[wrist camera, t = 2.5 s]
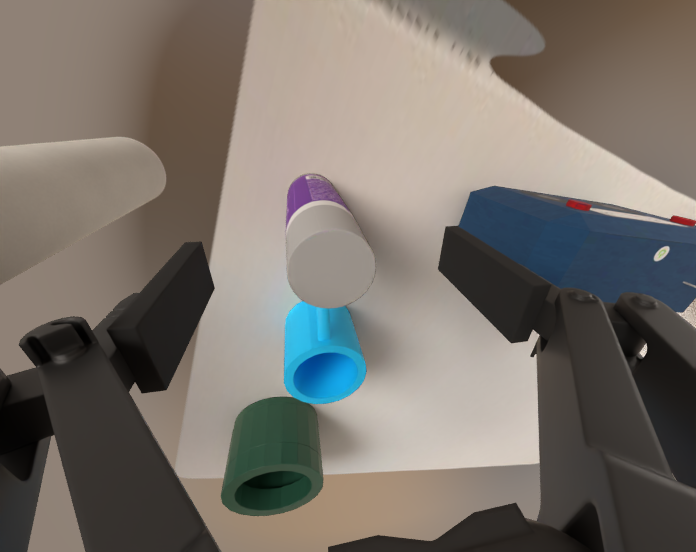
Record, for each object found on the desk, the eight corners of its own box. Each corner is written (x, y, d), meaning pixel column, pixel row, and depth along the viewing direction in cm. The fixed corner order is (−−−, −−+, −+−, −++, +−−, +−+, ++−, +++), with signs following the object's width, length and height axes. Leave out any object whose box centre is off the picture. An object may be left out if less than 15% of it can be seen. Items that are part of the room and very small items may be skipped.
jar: (218, 435, 40) (201, 509, 33) (265, 386, 37) (259, 454, 30) (286, 453, 46) (285, 520, 38) (332, 412, 43) (342, 475, 35)
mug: (350, 345, 36) (364, 397, 29) (288, 352, 35) (287, 409, 28) (352, 265, 31) (371, 307, 24) (278, 269, 29) (274, 316, 22)
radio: (617, 199, 33) (971, 283, 16) (578, 264, 37) (826, 386, 20) (468, 175, 28) (750, 258, 11) (441, 253, 32) (616, 403, 15)
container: (276, 191, 25) (262, 262, 13) (318, 162, 25) (349, 206, 12) (306, 231, 28) (319, 325, 15) (344, 205, 27) (393, 280, 14)
